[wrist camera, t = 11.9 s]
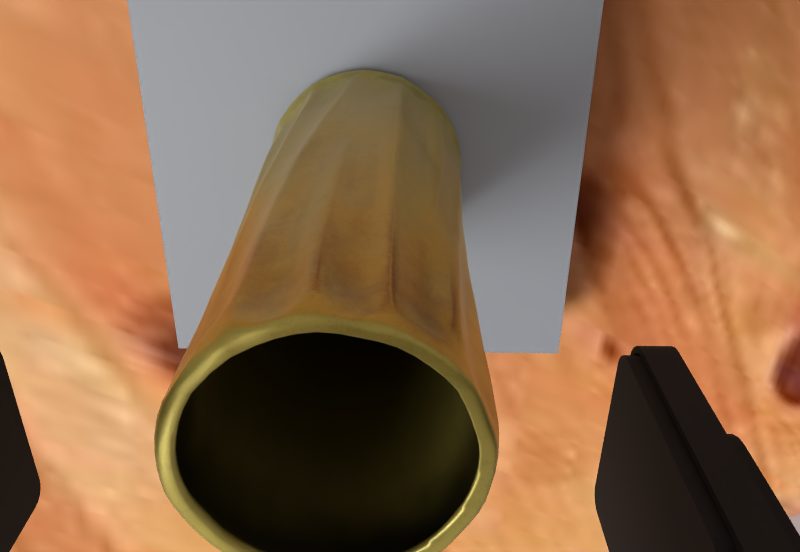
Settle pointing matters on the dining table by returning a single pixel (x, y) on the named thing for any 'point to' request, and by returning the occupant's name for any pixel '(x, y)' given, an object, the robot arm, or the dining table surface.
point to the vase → (339, 343)
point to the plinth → (399, 55)
